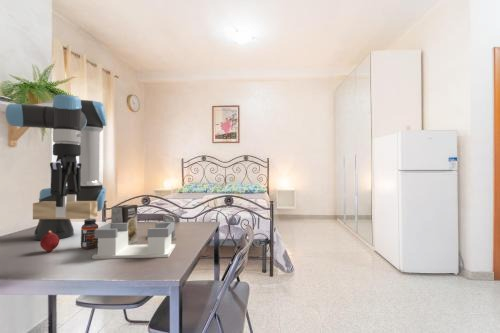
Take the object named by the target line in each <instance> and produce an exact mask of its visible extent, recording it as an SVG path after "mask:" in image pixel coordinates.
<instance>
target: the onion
mask: <svg viewBox="0 0 500 333" xmlns="http://www.w3.org/2000/svg"><path fill="white" fill-rule="evenodd" d="M39 241H40V243H39V244H40V247H41V248H42V250H44V251H45V252H48V253H50V252H52V251H54V250H55V249H56V248H57V247H59V244H60V239H59V238H58V236H57V235H56V234H54V233H52V232H51V231H48V234H46V235H45V236H44V237H43V238H42V239H41V240H39Z"/></svg>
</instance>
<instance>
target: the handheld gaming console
mask: <svg viewBox="0 0 500 333" xmlns="http://www.w3.org/2000/svg"><path fill="white" fill-rule="evenodd" d="M162 220H163V221H162V222H175V223H176V220H175V217H174V216H171V215H169V214H163V218H162ZM146 237H147V238H148V234H147V236H146ZM176 240H177V237H176V227H175V228H174V231H173V232H172V233H171V241H176Z"/></svg>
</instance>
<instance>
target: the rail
mask: <svg viewBox="0 0 500 333" xmlns="http://www.w3.org/2000/svg"><path fill="white" fill-rule="evenodd" d="M97 216H98V211H97V201H66V217H56V201H43V202H39V201H38V202H34V203H32V220H39V219H70V220H81V219H82V220H85V219H94V218H95V217H97Z"/></svg>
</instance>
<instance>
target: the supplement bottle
mask: <svg viewBox="0 0 500 333" xmlns="http://www.w3.org/2000/svg"><path fill="white" fill-rule="evenodd" d="M83 220H84V224H82V226H81V232H80V248H81V249H83V250H90V249H91V250H92V249H95V248H98V238H95V229H98V228H99V225H98V223H96V222H97V221H96V220H97V219H96V218H91V219H83Z"/></svg>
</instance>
